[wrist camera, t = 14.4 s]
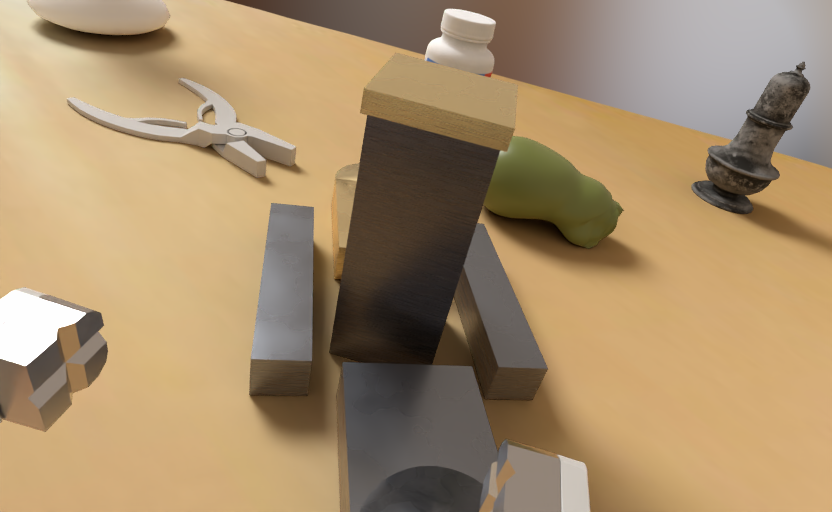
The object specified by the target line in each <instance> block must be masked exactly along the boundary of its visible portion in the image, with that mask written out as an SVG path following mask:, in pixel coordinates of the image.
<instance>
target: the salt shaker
mask: <svg viewBox="0 0 832 512" xmlns="http://www.w3.org/2000/svg"><path fill="white" fill-rule="evenodd" d="M796 67H797V68H796V70H795V71H790V72H782V73H778V74H777V75H775V76H774V77H773V78H772V79H771V80H770V82H769V83H768V85H767V87H766V88H765V90H764V92H763V94H762V95H761V97H760V99H759V100H758V102H757V104H756V106H755V107H754V109H751V110H747V111H746V114H747V115H748V117H747V119H746V121H745V123H744V124H743V126H742V128H741V129H740V131H739V133H738V134H737V136H736V137H735V138H734V139H733V140H732V141H731V142H730V143H729V144H728V145H725V146H711V147H710V148H708V154H709V156H708V158H707V160H706V173H707V176H708V178H709V180H710V181H698V182H695V183H693V184H692V190H693V192H694V193H695V194H696V195H697V196H699V197H700V198H701V199H703V200H704V201H706V202H708V203H710V204H712V205H714V206H716V207H718V208H721V209H724V210H726V211H730V212H734V213H740V214H748V213H751V212H752V210H753V206H752V204H751V203H750V200H749V199H748V198H747V197H746V196H745V195H751V194H754V193H758V192H760V191H762V190H763V189H764V188H766V187H767V186H768V185H769V184H770V182H771V181H772V180H776V179H778V178H779V176H780V174H779V171H778V170H777V169H776V168H775V167H773V166H772V164H771V162H770V161H771V157H772V154H773V151H774V148H775V147H776V145H777V143H778V142H779V140H780V139H781V137H782V136H783V134H784V132H785V131H787V130H790V129H792V128H793V126H792V125H791V123H790V121H791V119H792V118H793V116H794V115H795V113H796V112H797V110H798V108H799V107H800V105H801V104H802V102H803V100H804V99H805V97H806V96H807V94H808V93H809V90H810V84H809V82H808V80H807V79H806V78H804V75H803V74H802V70H804V69H805V62H802V63H800V64H799V65H797V66H796Z"/></svg>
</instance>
